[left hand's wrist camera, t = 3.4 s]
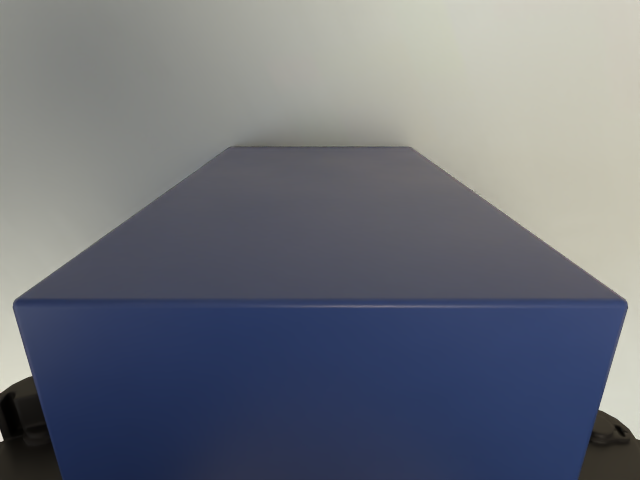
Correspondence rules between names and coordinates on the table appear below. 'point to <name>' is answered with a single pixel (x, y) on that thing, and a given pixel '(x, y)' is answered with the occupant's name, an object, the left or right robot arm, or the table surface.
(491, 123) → the table surface
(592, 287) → the block
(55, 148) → the table surface
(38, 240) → the table surface
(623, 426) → the left robot arm
